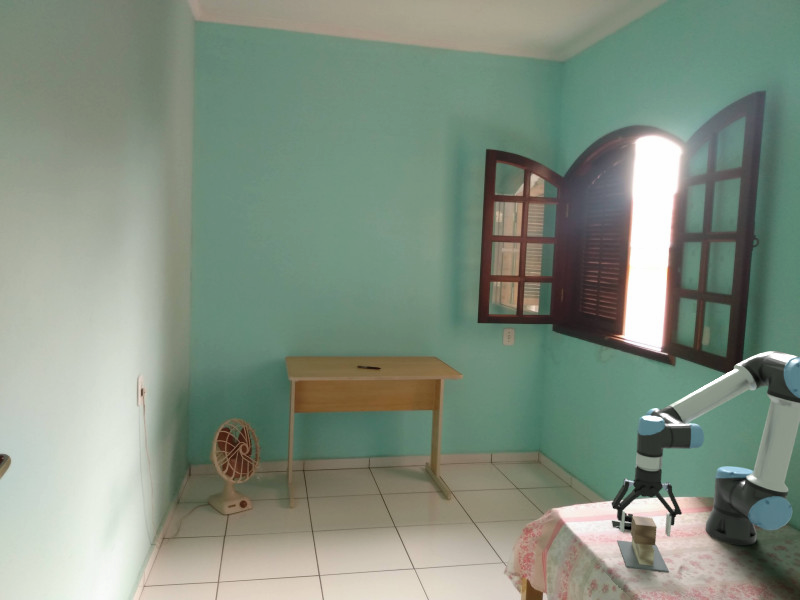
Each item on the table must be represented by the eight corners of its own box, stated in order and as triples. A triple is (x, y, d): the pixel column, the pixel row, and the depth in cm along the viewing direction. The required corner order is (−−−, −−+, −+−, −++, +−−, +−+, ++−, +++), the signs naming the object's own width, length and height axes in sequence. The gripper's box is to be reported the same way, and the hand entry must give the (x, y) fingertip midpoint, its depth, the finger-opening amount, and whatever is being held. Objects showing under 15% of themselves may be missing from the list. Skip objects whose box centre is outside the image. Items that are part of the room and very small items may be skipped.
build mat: (656, 545, 198) (656, 544, 198) (668, 572, 182) (668, 570, 182) (617, 541, 200) (617, 540, 200) (626, 567, 184) (626, 565, 184)
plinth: (644, 546, 197) (645, 531, 196) (653, 565, 185) (654, 549, 184) (631, 544, 197) (632, 529, 197) (639, 564, 186) (640, 548, 185)
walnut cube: (650, 536, 193) (652, 517, 192) (655, 545, 187) (656, 526, 187) (630, 533, 194) (632, 515, 194) (634, 543, 188) (635, 524, 188)
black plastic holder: (644, 526, 213) (646, 513, 212) (646, 536, 206) (648, 523, 205) (607, 520, 216) (608, 507, 216) (608, 529, 209) (609, 516, 209)
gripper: (688, 465, 190) (683, 530, 192) (604, 459, 194) (601, 522, 196) (695, 474, 182) (690, 542, 185) (608, 467, 187) (604, 534, 189)
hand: (644, 532), depth 190 cm, fingers open, 13 cm apart
